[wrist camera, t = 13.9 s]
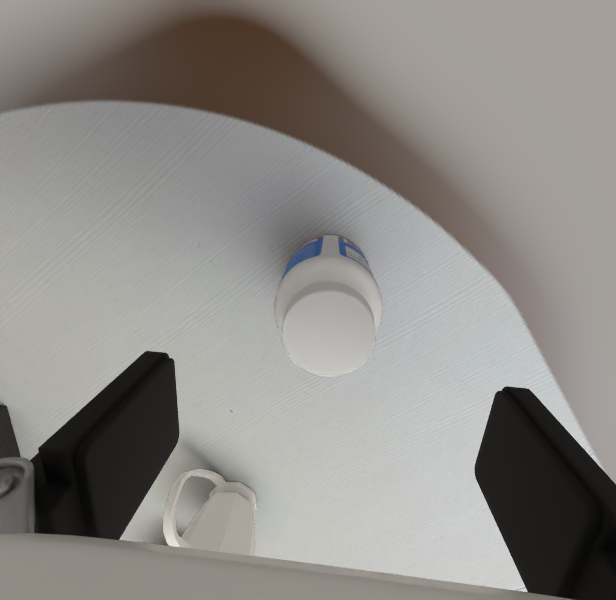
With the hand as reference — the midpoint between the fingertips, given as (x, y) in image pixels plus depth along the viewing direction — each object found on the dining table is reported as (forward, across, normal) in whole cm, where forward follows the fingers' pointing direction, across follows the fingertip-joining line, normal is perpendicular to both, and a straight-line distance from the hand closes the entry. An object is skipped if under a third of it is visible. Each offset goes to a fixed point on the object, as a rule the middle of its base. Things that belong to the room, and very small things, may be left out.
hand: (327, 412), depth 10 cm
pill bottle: (+15, 0, 0) cm, 15 cm away
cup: (+15, +8, +20) cm, 26 cm away
